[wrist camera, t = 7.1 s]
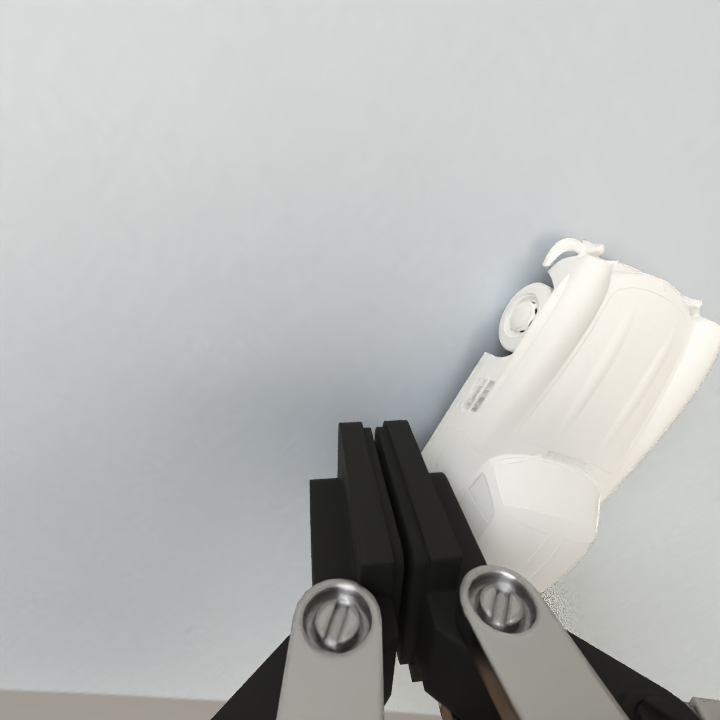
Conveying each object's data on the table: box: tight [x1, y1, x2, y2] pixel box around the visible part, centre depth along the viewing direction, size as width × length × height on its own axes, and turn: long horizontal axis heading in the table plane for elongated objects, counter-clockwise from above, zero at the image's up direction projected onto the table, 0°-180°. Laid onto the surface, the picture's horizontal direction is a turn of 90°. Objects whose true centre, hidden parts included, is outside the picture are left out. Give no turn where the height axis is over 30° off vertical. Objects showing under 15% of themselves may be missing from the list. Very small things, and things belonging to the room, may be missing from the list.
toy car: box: [421, 238, 720, 594], centre depth 11 cm, size 5×12×4 cm, turn 155°
